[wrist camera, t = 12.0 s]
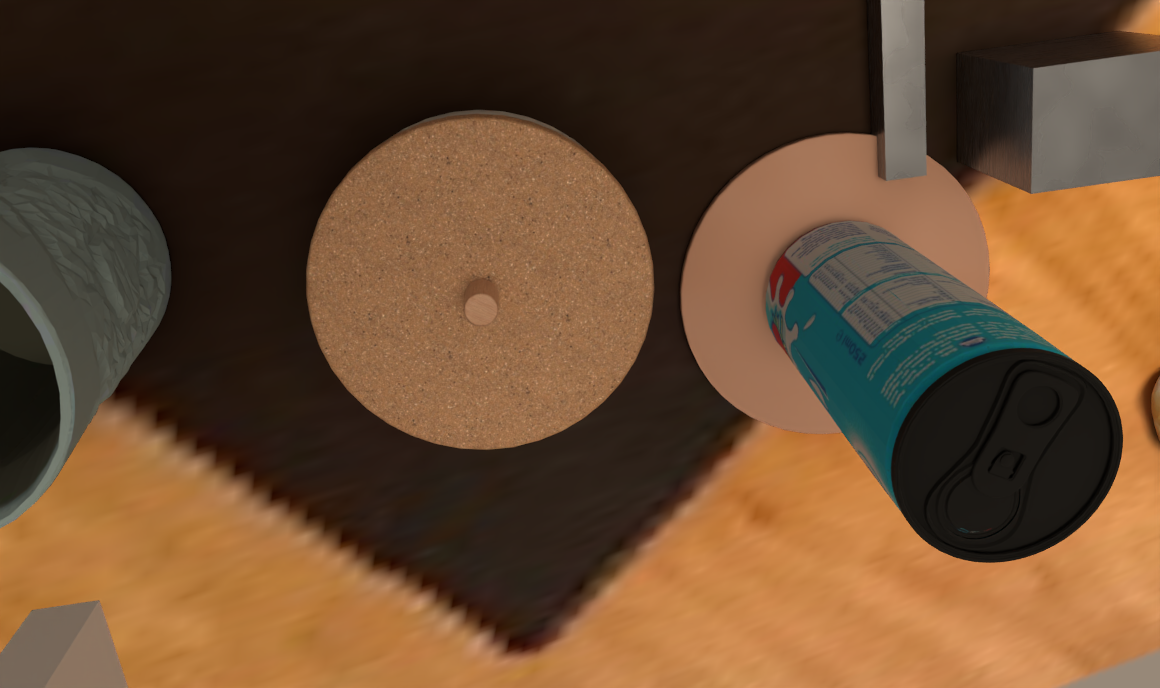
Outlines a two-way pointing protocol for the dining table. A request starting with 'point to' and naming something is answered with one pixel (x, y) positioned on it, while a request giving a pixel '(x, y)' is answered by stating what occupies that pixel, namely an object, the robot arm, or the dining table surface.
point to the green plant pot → (67, 307)
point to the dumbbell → (1020, 105)
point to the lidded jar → (480, 280)
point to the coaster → (771, 224)
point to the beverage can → (944, 394)
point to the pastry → (1156, 406)
